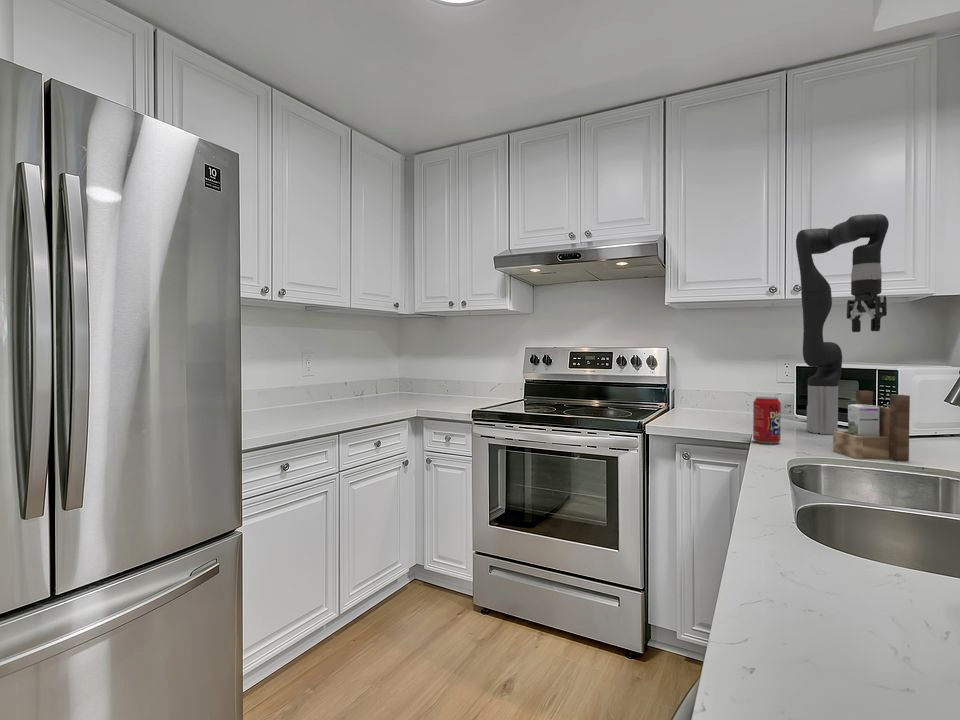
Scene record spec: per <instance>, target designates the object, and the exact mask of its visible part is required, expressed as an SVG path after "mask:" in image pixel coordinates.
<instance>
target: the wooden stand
mask: <svg viewBox="0 0 960 720" xmlns="http://www.w3.org/2000/svg"><path fill="white" fill-rule="evenodd" d="M910 396H911V395H907V394H889V407H887V406H883V405H882V406H881V405H875V404H874V391H871V390H855V404H864V405H871V406H877V407H879V437H862V436H855V435H851V434H848V430H847V431H845V430H844V431H833V434H832V437H833V438H832V439H833V440H832V452H834V451H835V452H834V453H837V452H838V454H840V453H841V455H844V456H847V457H850V458H853V457H854V459H856V458H857V459H858V460H859V459H860V460H861V459H862V460H863V459H864V460H869V459H870V460H873V459H874V460H890V459H891V461H894V460H895V462H897V461H909V462H910V415H911V413H910V407H911V406H910V405H911V404H910V402H911V397H910Z"/></svg>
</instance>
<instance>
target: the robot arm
mask: <svg viewBox="0 0 960 720" xmlns="http://www.w3.org/2000/svg"><path fill="white" fill-rule="evenodd" d="M888 230H889V219H888V217H887V216H886V215H884V214H882V213H872V214H858V215H852V216H850V217H849V218H848V219H847V220H845V221H843V222H839V223H838V224H836V225H835V226H833V227H832V228H823V227H821V228H809V229H808V228H806V229H801V230H799V231H798V233H797V235H796V239H795V248H796V254H797V255H796V256H797V261H798V267H799V274H800V275H799V276H800V295H801V307H802V319H803V321H802V322H803V324H802V325H803V335H802V337H803V338H802V357H803V361H804V363H805V364H806V365H807V366H808V367H811V368H817V370H816V372H815V374H813V375H812V376H809V377H808V379H807V405H806V431H807V432H808V431H809V433H811V432H812V433H813V434H818V433H820V434H819V435H833V431H838V430H839V429H838V426H839V425H838V423H839V418H838V417H839V382H840V380H841V377H842V367H843V365H842V364H843V352H842V348H841V347H840V345H838V343H836V342H833V341H824V332H823V331H824V326H825V322H826V320H827V318H828V316H829V314H830V312H831V310H832V306H833V297H832V288H831V285H830V284H829V281H827V279H826V278H825V277H824V275H823V274H822V273H820V271H819V269H818V268H817V267H816V265H815V262H814V258H813V255H818V254H819V255H821V254H824V253H828V252H830V251H832V250H834V249H835V248H837V247H839V246H840V245H844V244H848V243H852V242H856V241H857V240H860V239H866V238H867V239H868V242H867V243H866V244H863V245H858V246H856V247H854V248H853V250H852V264H851V265H852V267H851V274H850V275H851V276H850V278H851V279H850V281H851V282H850V285H851V286H850V289H851V290H850V295H851V296H853V297H854V299H848V300H847V303H846V319H849V320H850V321H851V332H852V333H860V332H861V331H862V330H861V323H862V321H861V319H862V318H863V315H865V314H866V313H867V314H868V315H869V316H870V317H871V318H870V331H871V332H880V330H881V319H882V318H883V317H886V316H887V314H888V312H887V310H888V309H887V296H885V295H880V294H881V293H882V281H883V279H882V278H883V277H882V274H883V273H882V271H883V270H882V263H881V262H882V248H883V246H884V245H883V244H884V241H885V238H886V236H887V233H888ZM812 433H811V434H812Z"/></svg>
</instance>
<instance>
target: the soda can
mask: <svg viewBox="0 0 960 720" xmlns="http://www.w3.org/2000/svg"><path fill="white" fill-rule="evenodd" d="M752 403H753V405H752V407H753V409H752V417H753V418H752V419H753V421H752V440H753V441H755V442H756V443H758V444H763V445H776V444H778V443H780V442H781V431H782V430H781V427H782V426H781V425H782V423H781V422H782V421H781V417H782V415H781V413H782V407H781V405H782V403H781V401H780V400H779V397H776V396H755V399H754V401H752Z"/></svg>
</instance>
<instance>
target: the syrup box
mask: <svg viewBox="0 0 960 720" xmlns="http://www.w3.org/2000/svg"><path fill="white" fill-rule="evenodd" d="M877 406H878V405H876V406H871V405H864V404H856V403H854V404H848V405H847V431H848V434H851V435H855V436H862V437H879V407H877Z"/></svg>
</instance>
